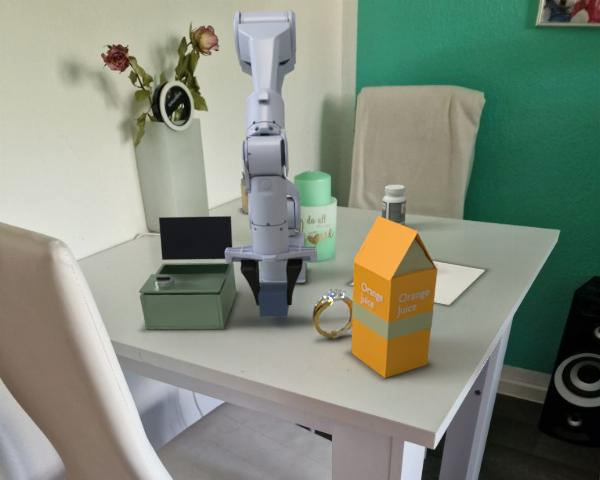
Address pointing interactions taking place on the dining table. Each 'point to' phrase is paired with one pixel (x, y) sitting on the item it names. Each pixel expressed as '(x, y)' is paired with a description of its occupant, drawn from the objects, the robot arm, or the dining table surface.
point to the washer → (189, 296)
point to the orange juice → (392, 299)
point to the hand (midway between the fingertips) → (274, 303)
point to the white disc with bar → (163, 281)
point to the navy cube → (273, 300)
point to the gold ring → (320, 308)
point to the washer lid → (195, 237)
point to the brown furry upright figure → (244, 194)
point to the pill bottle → (394, 204)
